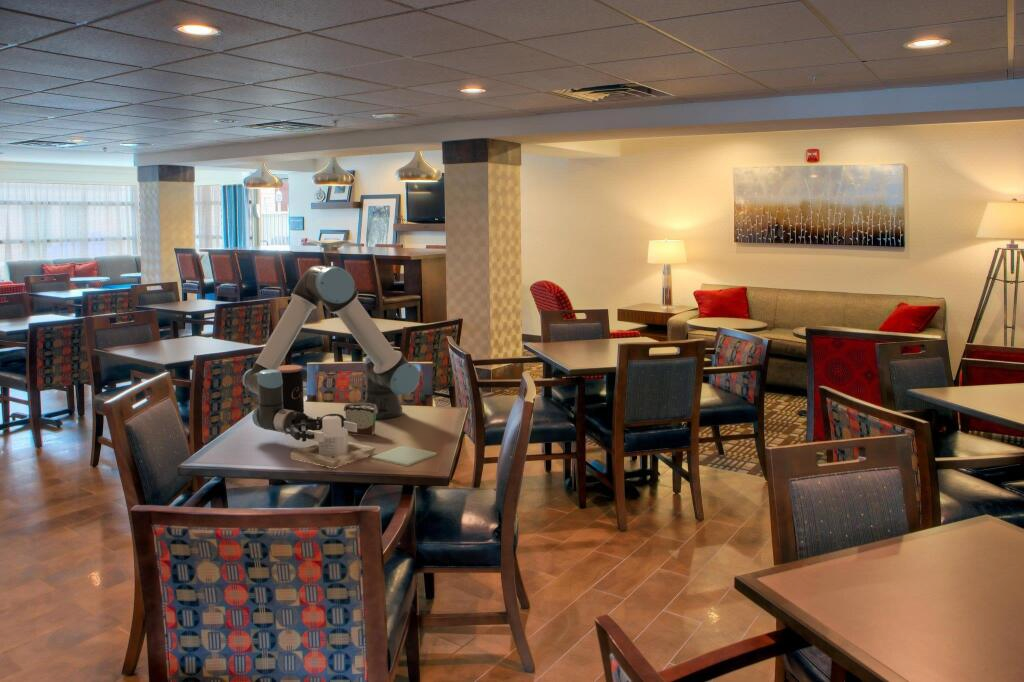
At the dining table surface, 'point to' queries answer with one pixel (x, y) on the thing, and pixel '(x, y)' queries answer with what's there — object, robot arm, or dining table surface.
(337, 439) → the container
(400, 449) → the pad
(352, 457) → the square picture frame
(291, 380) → the coffee jar
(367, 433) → the food container
